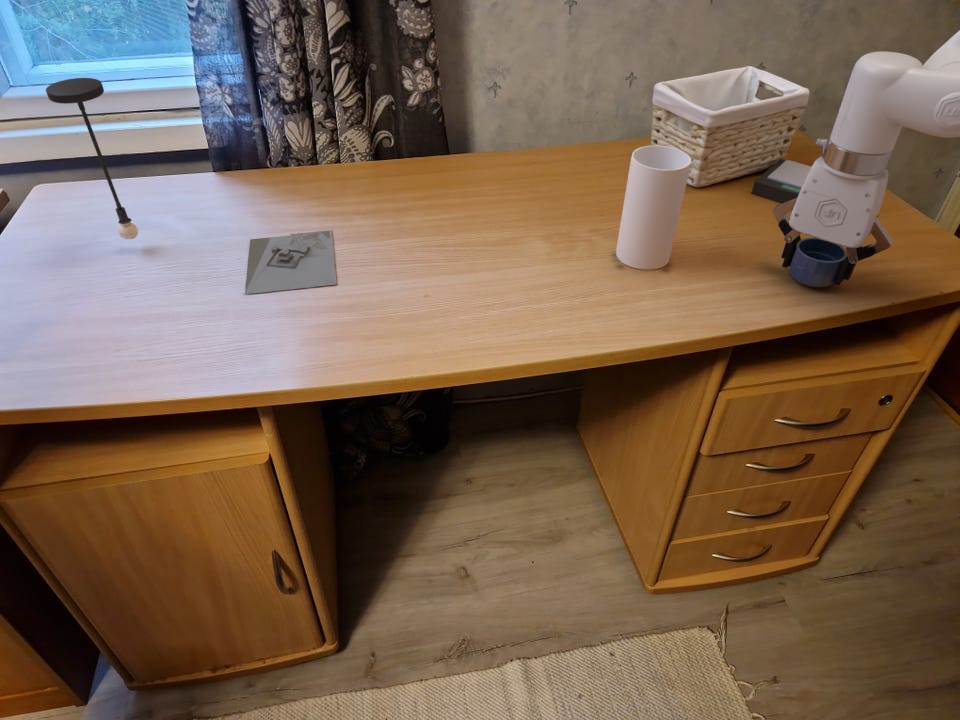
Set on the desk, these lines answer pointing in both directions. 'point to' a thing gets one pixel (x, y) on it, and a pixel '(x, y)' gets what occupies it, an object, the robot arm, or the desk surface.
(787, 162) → the scale
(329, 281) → the grey faceted rectangular plate
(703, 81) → the basket
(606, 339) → the desk surface
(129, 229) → the light fixture
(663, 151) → the cup
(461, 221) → the desk surface
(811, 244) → the bowl
